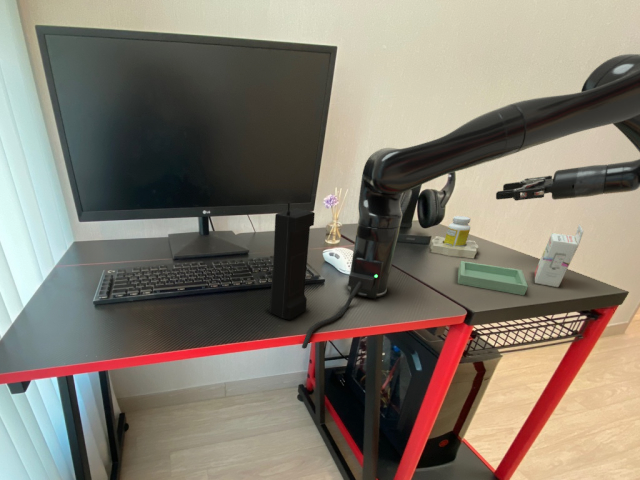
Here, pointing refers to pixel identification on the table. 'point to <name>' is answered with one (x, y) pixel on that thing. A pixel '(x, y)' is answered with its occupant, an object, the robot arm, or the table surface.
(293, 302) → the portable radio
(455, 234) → the pill bottle
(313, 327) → the robot arm
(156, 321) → the table surface
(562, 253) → the ink cartridge box
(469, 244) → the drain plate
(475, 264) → the basin tray
